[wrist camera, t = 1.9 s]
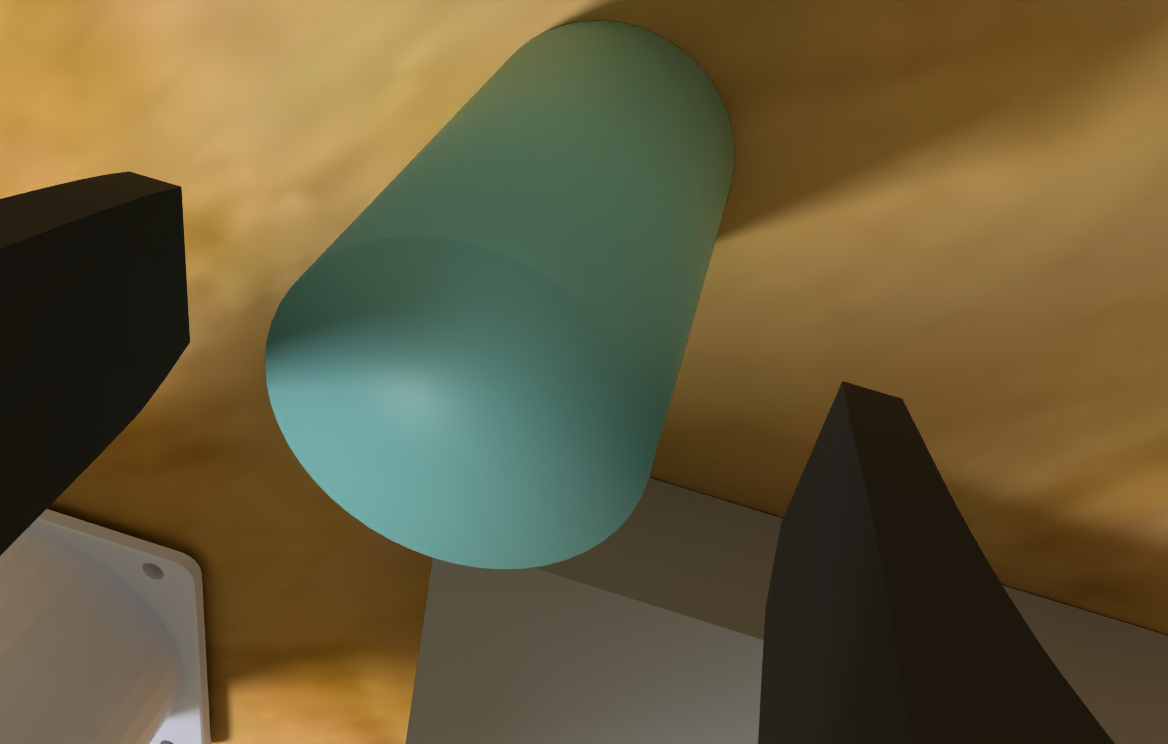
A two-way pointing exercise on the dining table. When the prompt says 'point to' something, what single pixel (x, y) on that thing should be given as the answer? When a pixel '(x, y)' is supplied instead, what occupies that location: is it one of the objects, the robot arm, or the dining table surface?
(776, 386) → the dining table surface
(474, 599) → the socket
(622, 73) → the peg
